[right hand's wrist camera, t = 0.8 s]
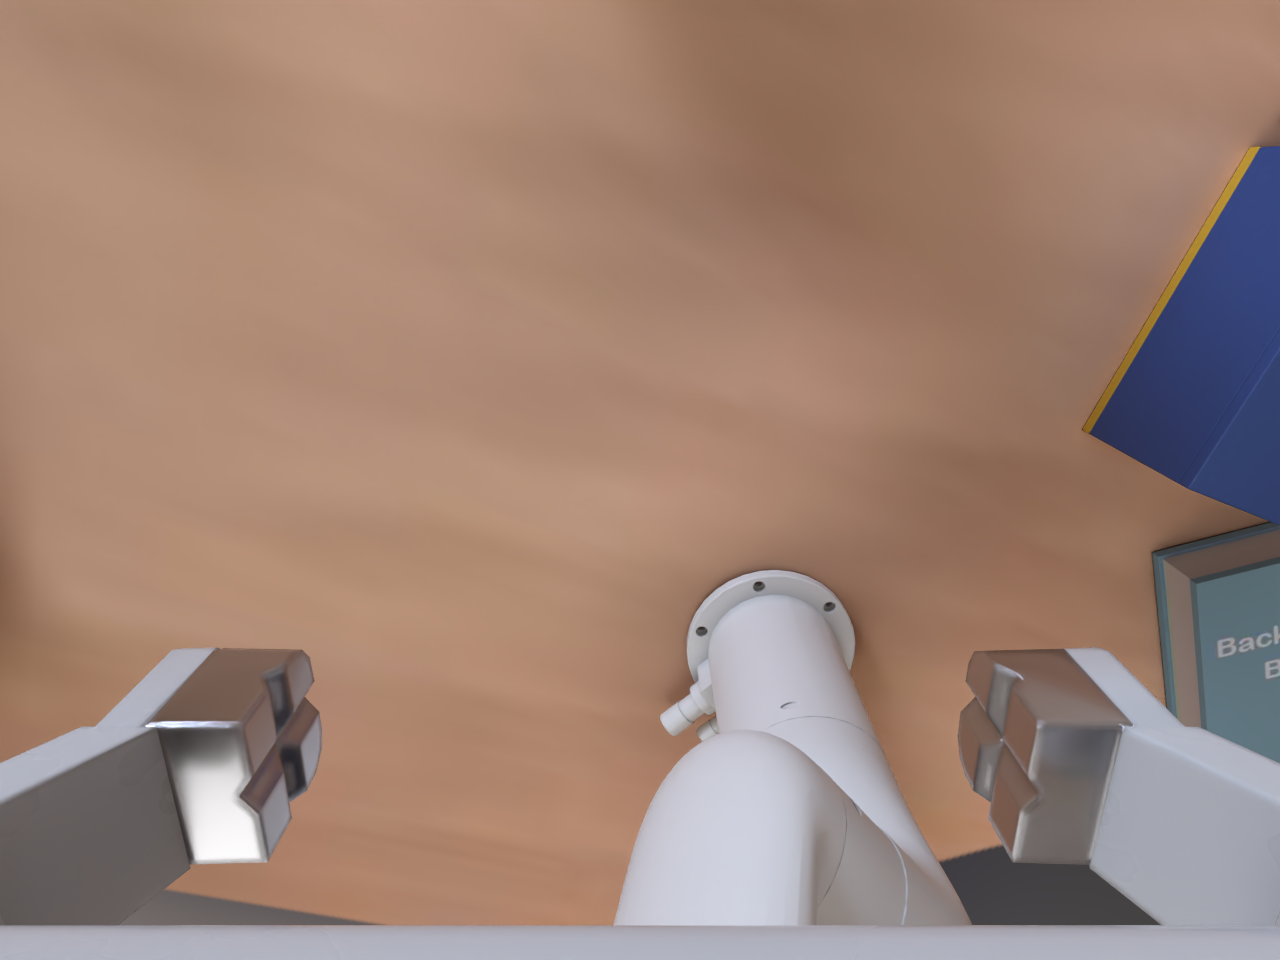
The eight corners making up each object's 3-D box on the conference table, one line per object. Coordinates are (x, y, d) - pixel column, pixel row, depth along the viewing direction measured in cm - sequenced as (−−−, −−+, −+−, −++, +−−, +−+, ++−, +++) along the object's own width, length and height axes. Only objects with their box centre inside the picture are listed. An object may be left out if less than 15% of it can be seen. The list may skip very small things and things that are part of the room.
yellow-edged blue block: (1249, 147, 51) (1418, 137, 40) (1334, 186, 51) (1521, 186, 40) (1081, 429, 57) (1187, 488, 46) (1159, 461, 58) (1281, 526, 47)
